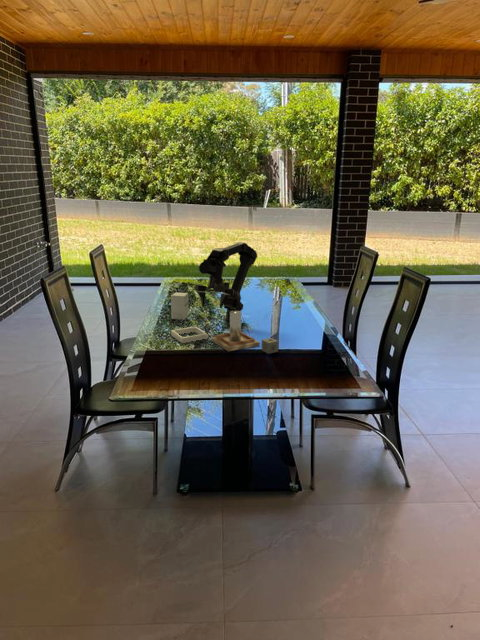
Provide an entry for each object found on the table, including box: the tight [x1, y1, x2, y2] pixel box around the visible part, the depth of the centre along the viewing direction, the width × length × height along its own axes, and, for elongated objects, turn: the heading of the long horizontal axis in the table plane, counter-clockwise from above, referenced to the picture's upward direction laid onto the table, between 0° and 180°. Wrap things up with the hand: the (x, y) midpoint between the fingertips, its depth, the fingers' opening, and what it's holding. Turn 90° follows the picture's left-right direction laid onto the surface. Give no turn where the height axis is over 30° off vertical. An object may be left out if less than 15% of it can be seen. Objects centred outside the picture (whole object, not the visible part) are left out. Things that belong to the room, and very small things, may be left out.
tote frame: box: [170, 326, 208, 344], centre depth 236 cm, size 13×13×2 cm
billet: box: [229, 310, 242, 342], centre depth 228 cm, size 5×5×13 cm
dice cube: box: [261, 337, 279, 355], centre depth 220 cm, size 5×5×5 cm
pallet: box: [211, 331, 261, 352], centre depth 230 cm, size 16×16×3 cm
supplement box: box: [170, 292, 189, 321], centre depth 265 cm, size 7×7×13 cm
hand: (211, 307), depth 245 cm, fingers open, 9 cm apart
